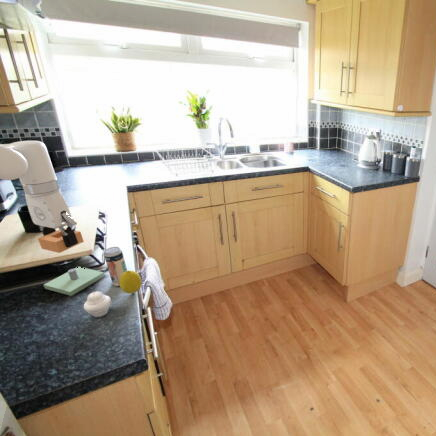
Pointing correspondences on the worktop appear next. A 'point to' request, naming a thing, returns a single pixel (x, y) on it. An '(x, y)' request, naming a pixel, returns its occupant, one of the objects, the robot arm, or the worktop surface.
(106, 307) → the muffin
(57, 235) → the orange block with hole
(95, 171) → the worktop surface
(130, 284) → the lemon
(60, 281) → the board
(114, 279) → the beer can
